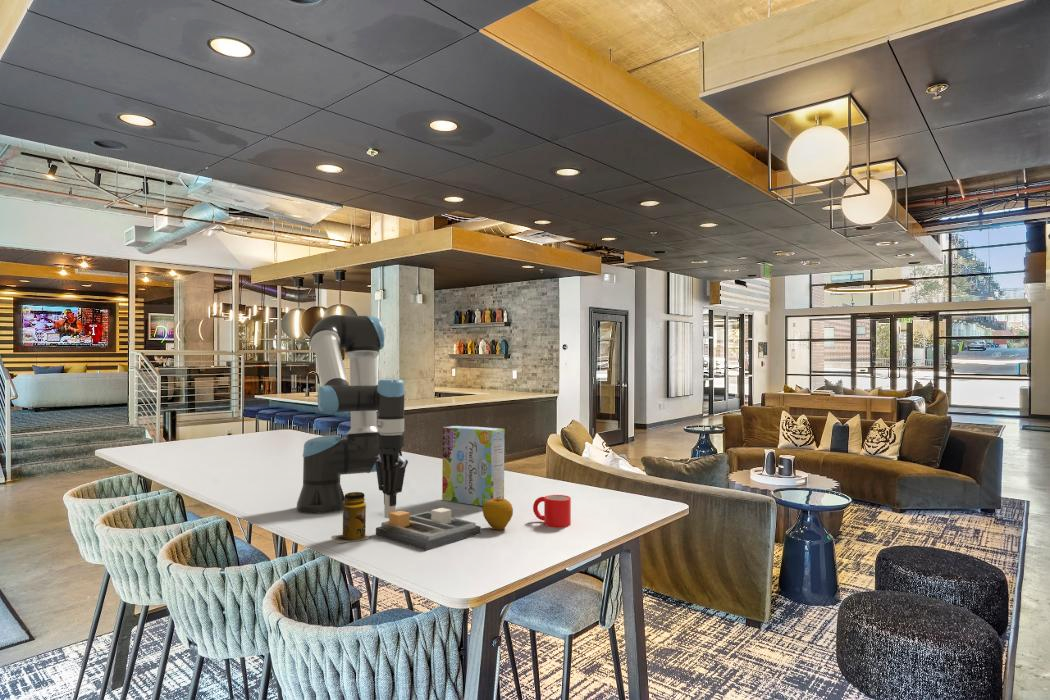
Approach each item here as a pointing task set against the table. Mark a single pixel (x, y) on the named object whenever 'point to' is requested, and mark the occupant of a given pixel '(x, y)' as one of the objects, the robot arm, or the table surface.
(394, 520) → the fader orange
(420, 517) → the grey slotted tray
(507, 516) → the apple
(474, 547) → the table surface
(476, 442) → the snack box
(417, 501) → the table surface
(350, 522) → the condiment
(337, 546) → the table surface
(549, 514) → the mug
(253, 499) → the table surface
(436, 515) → the block
